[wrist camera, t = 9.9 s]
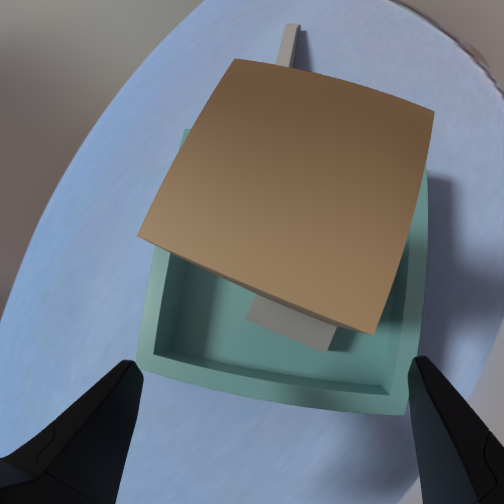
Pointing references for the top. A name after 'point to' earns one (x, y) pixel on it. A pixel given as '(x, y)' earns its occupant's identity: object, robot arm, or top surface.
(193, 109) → the top surface
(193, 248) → the tall tan wooden block
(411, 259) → the tray
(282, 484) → the top surface
